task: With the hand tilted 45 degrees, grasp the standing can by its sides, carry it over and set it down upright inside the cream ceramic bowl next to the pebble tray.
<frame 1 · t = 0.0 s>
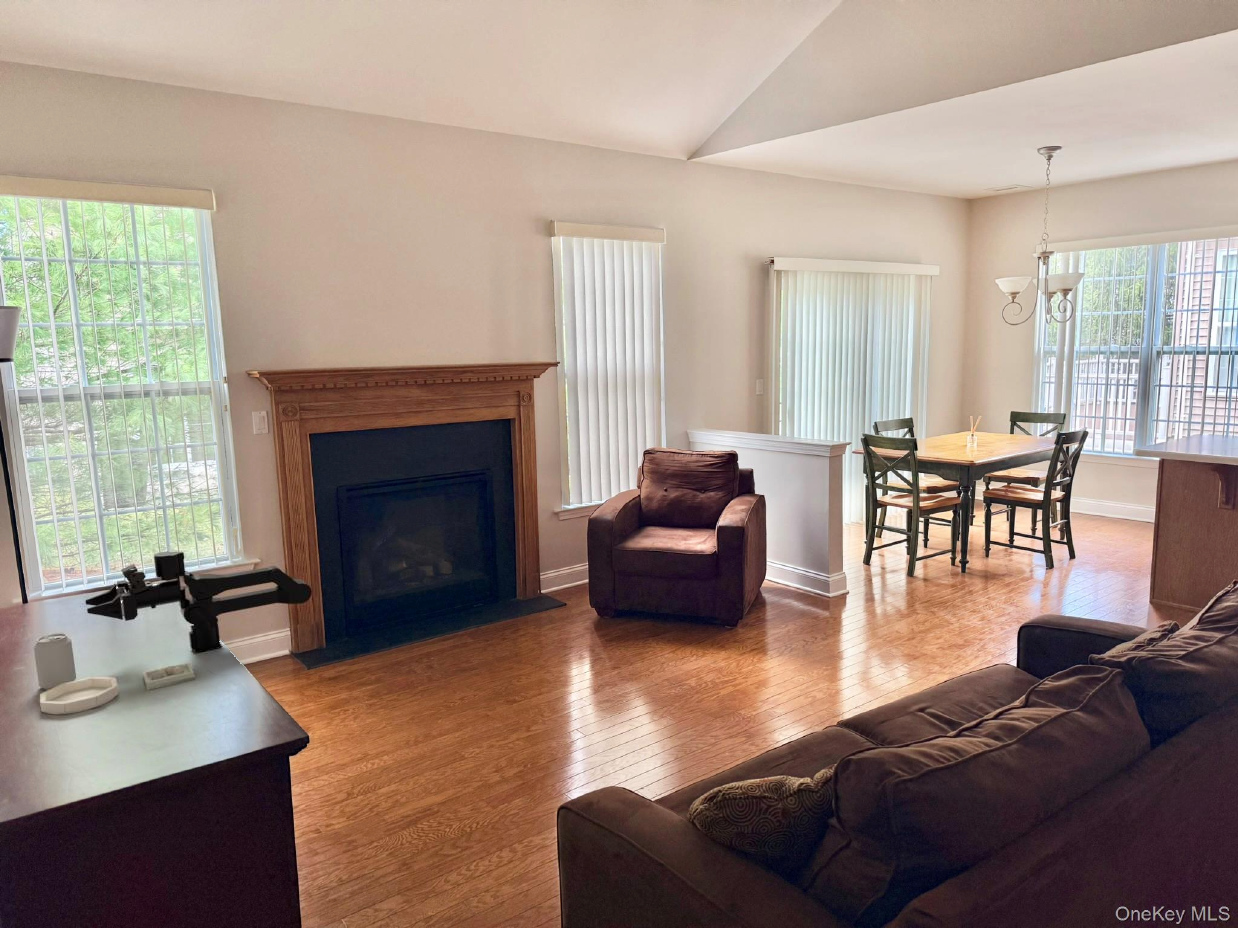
hand: (86, 606, 206), 17 cm above the table, tool horizontal, fingers open, 9 cm apart
bowl: (80, 700, 190), on the table
can: (58, 685, 200), on the table
pebbles: (167, 672, 200), in the pebble tray, point 1 cm above the table
pebble tray: (169, 679, 201), on the table
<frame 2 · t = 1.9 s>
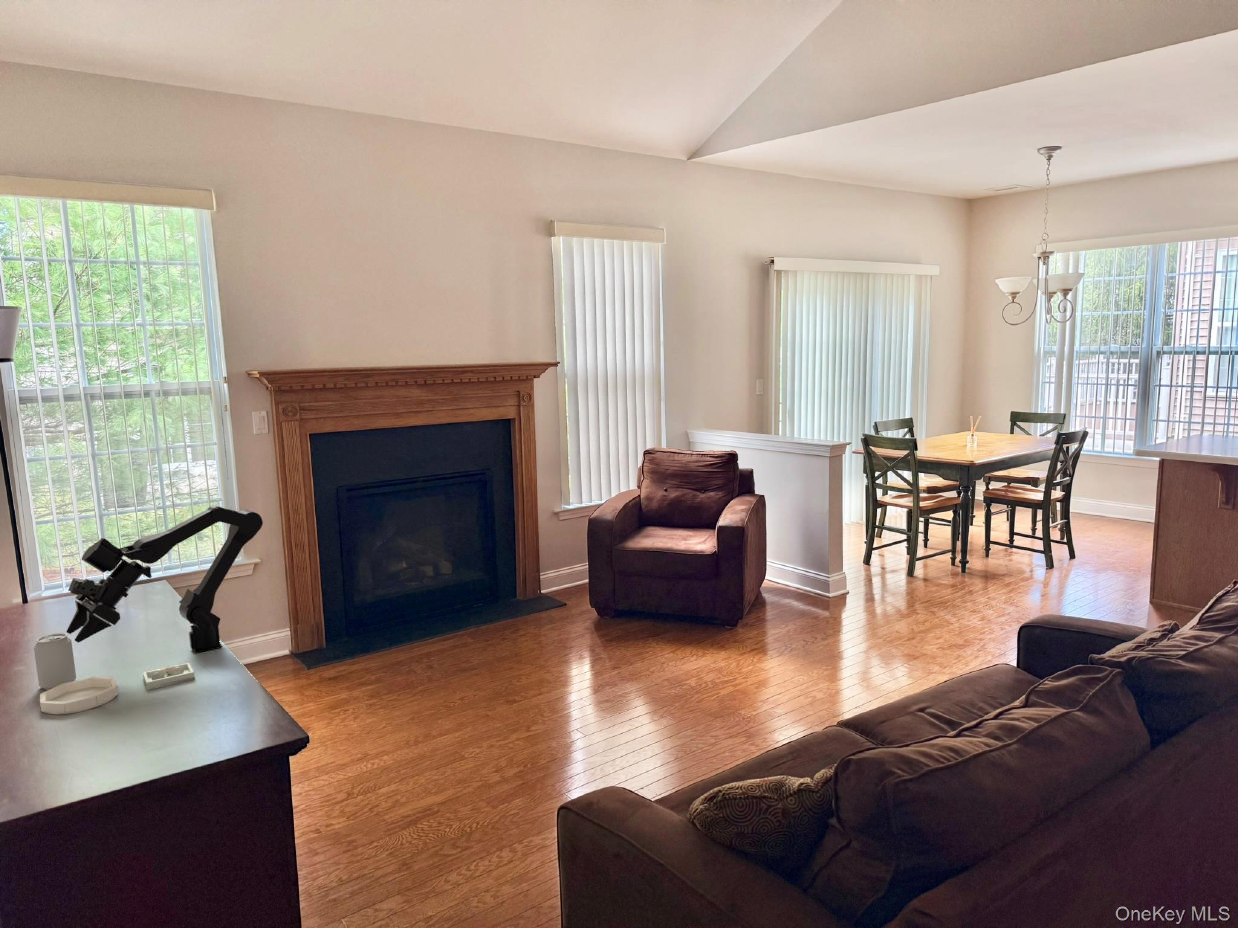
hand: (72, 637, 201), 11 cm above the table, tool tilted 45°, fingers open, 9 cm apart
nothing on the table moved.
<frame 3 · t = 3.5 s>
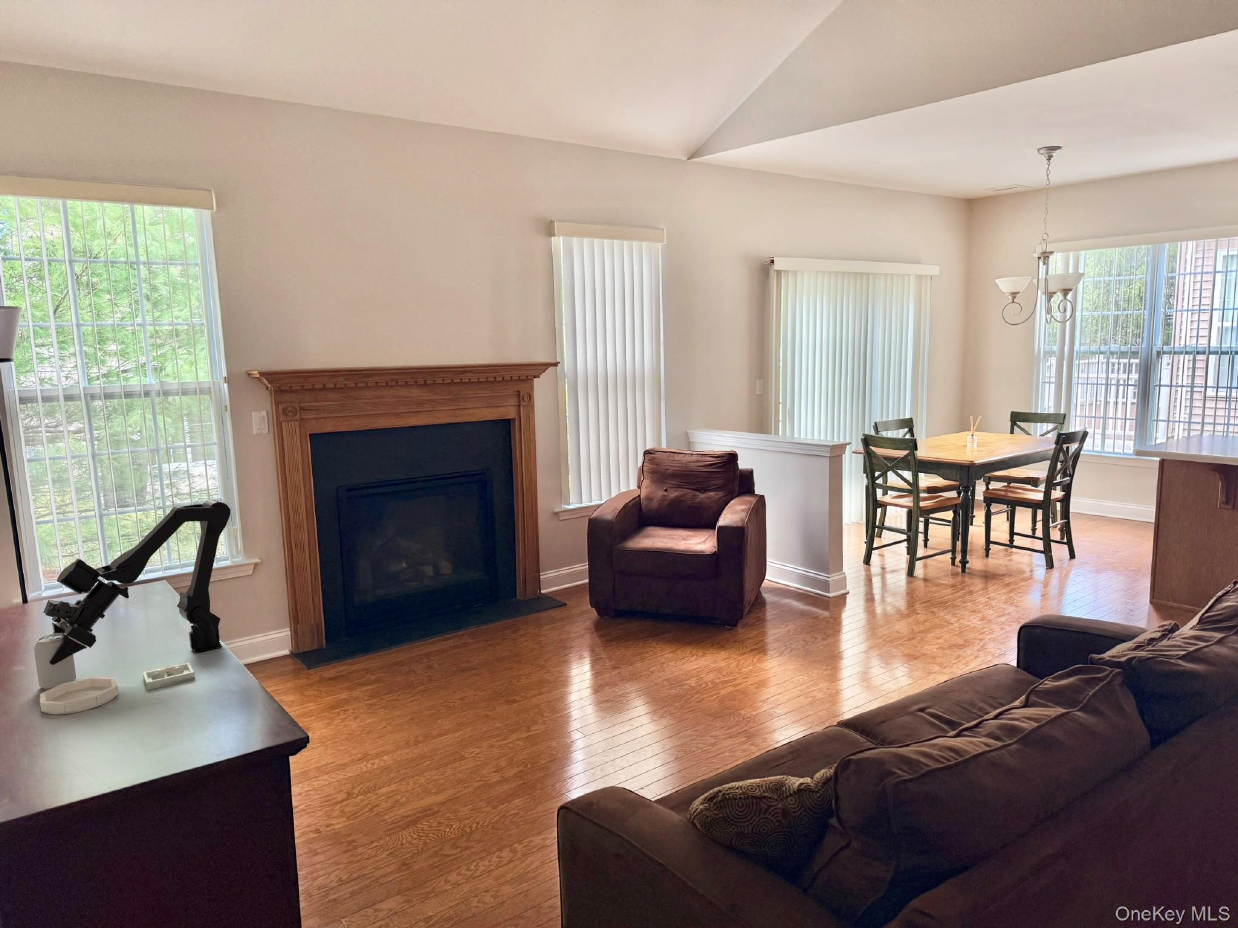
hand: (47, 659, 198), 7 cm above the table, tool tilted 45°, fingers closed on can, 7 cm apart
can: (58, 685, 200), on the table, touching gripper
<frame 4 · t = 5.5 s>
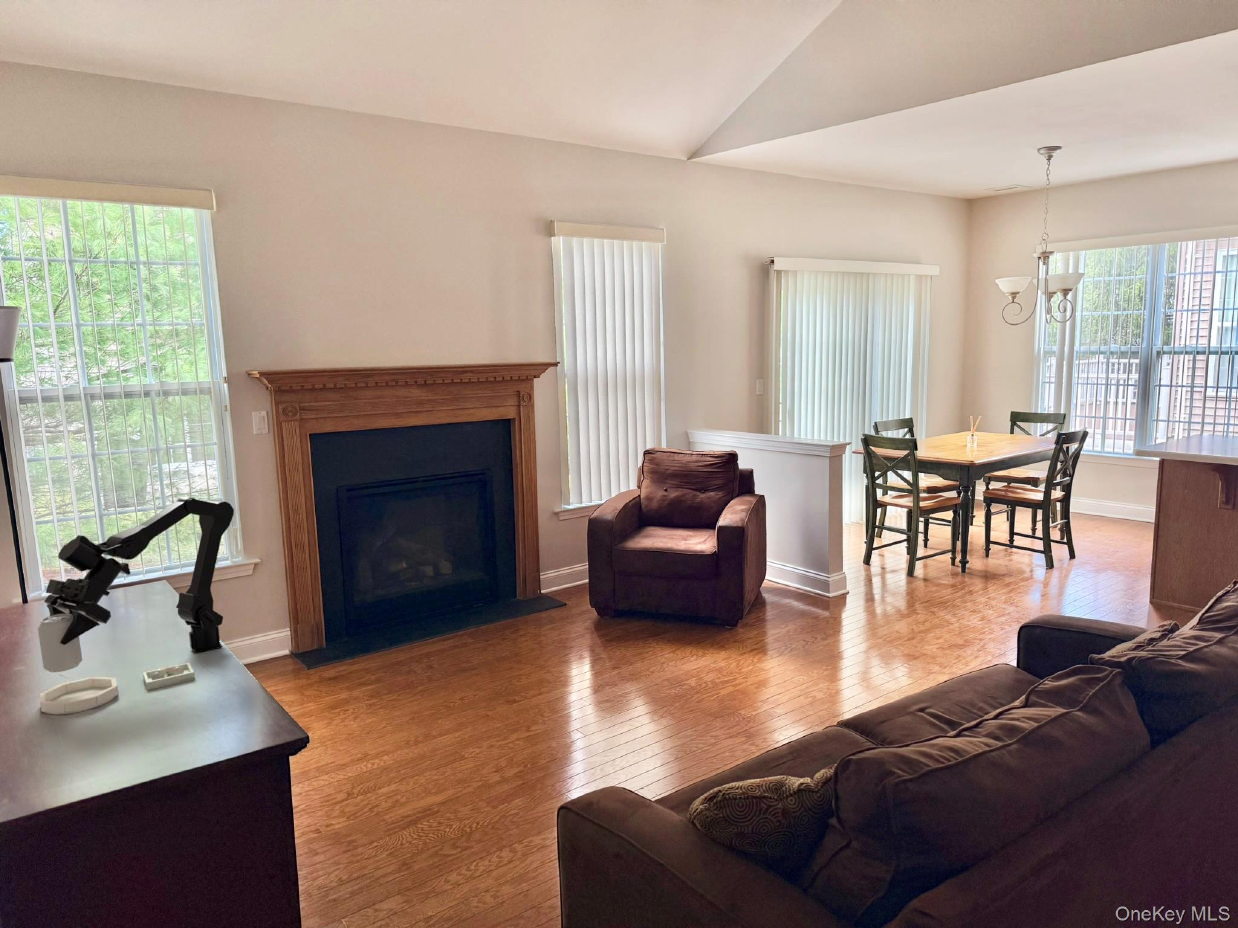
hand: (53, 641, 190), 13 cm above the table, tool tilted 45°, fingers closed on can, 7 cm apart
can: (63, 668, 193), point 7 cm above the table, touching gripper
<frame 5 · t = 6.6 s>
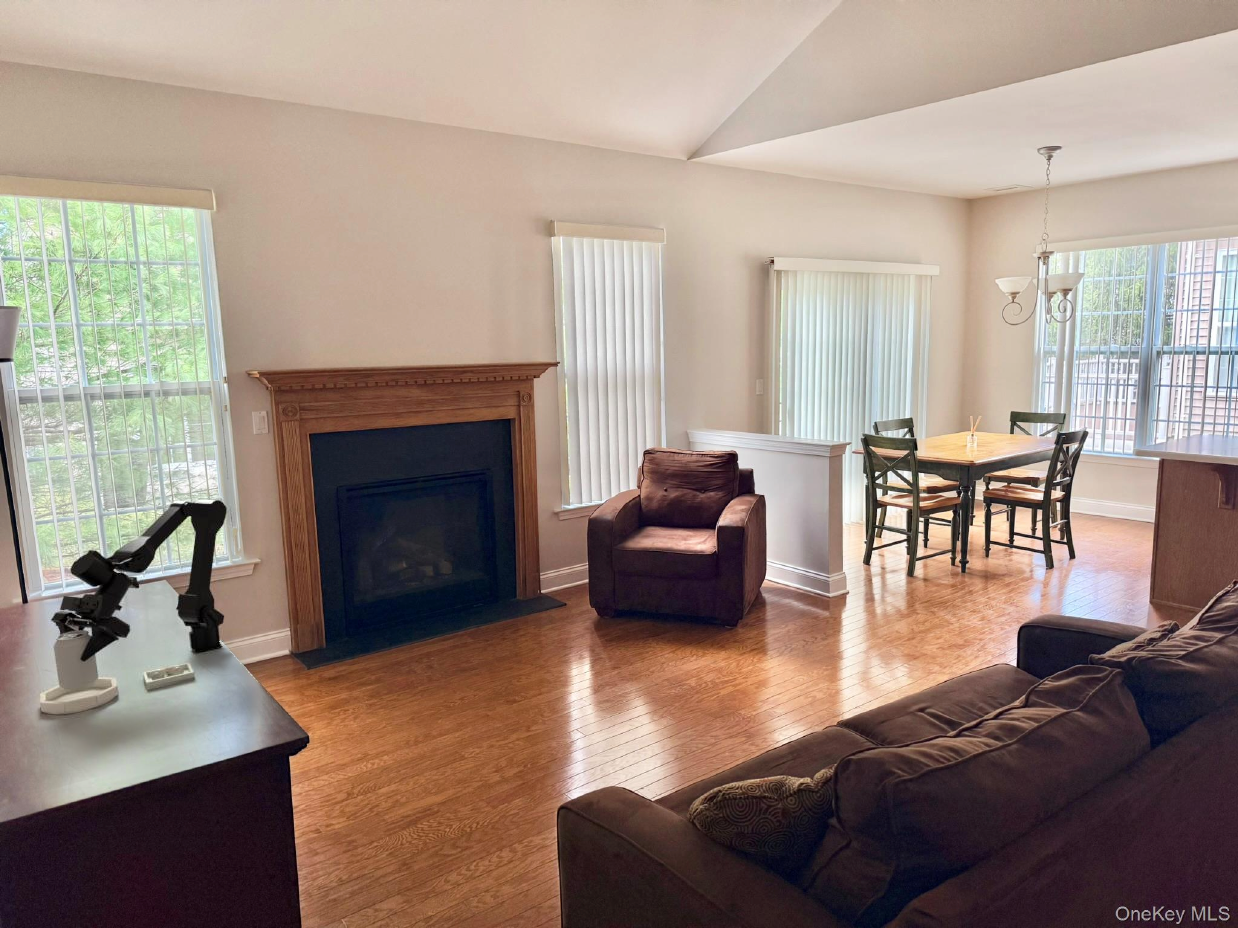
hand: (69, 658, 187), 10 cm above the table, tool tilted 45°, fingers closed on can, 7 cm apart
can: (79, 685, 190), point 3 cm above the table, touching gripper
when the fingers open (9 cm above the table, at t = 7.5 s): can drops 1 cm, resting on bowl.
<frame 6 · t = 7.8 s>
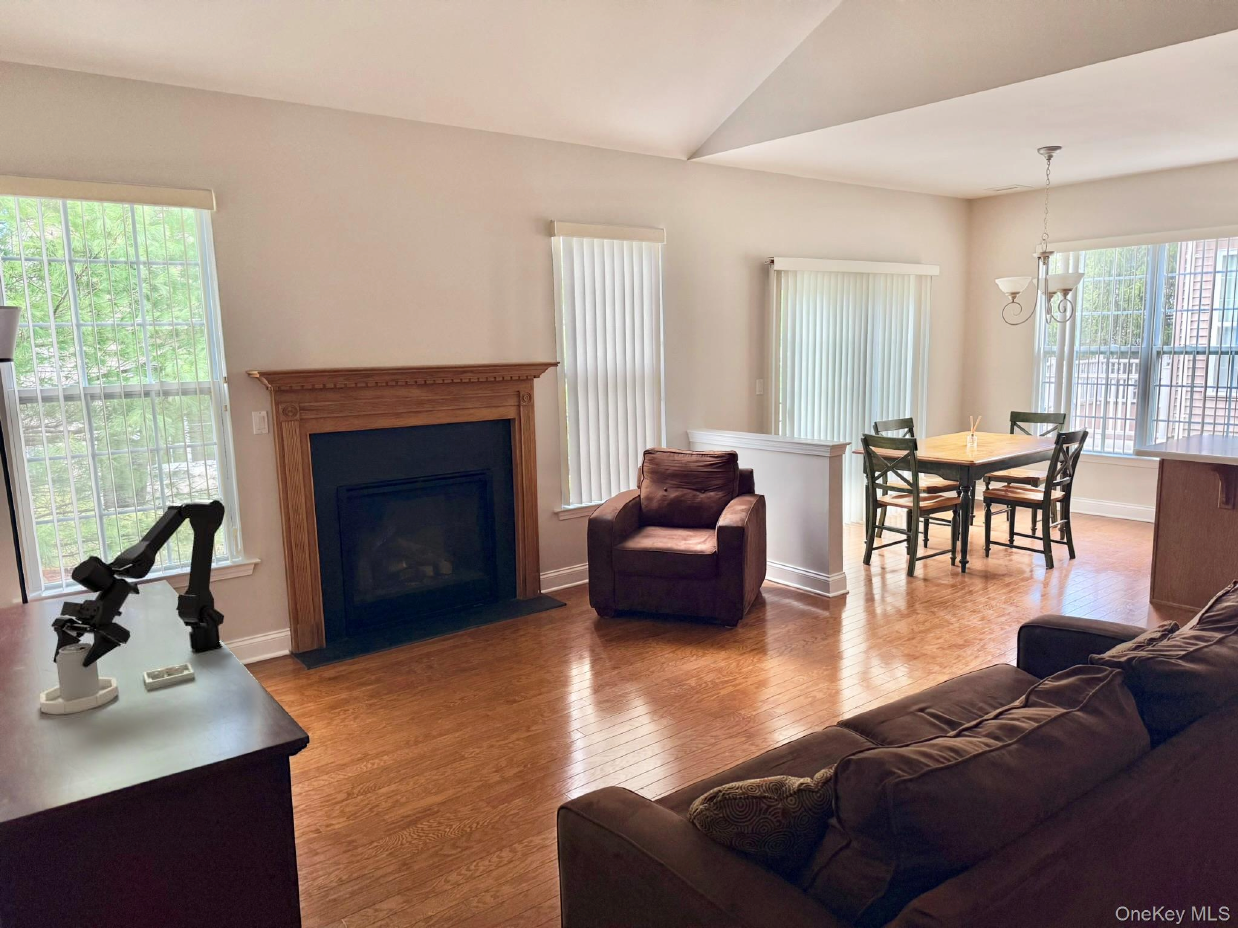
hand: (69, 664, 187), 9 cm above the table, tool tilted 45°, fingers open, 9 cm apart
can: (81, 698, 190), resting on bowl
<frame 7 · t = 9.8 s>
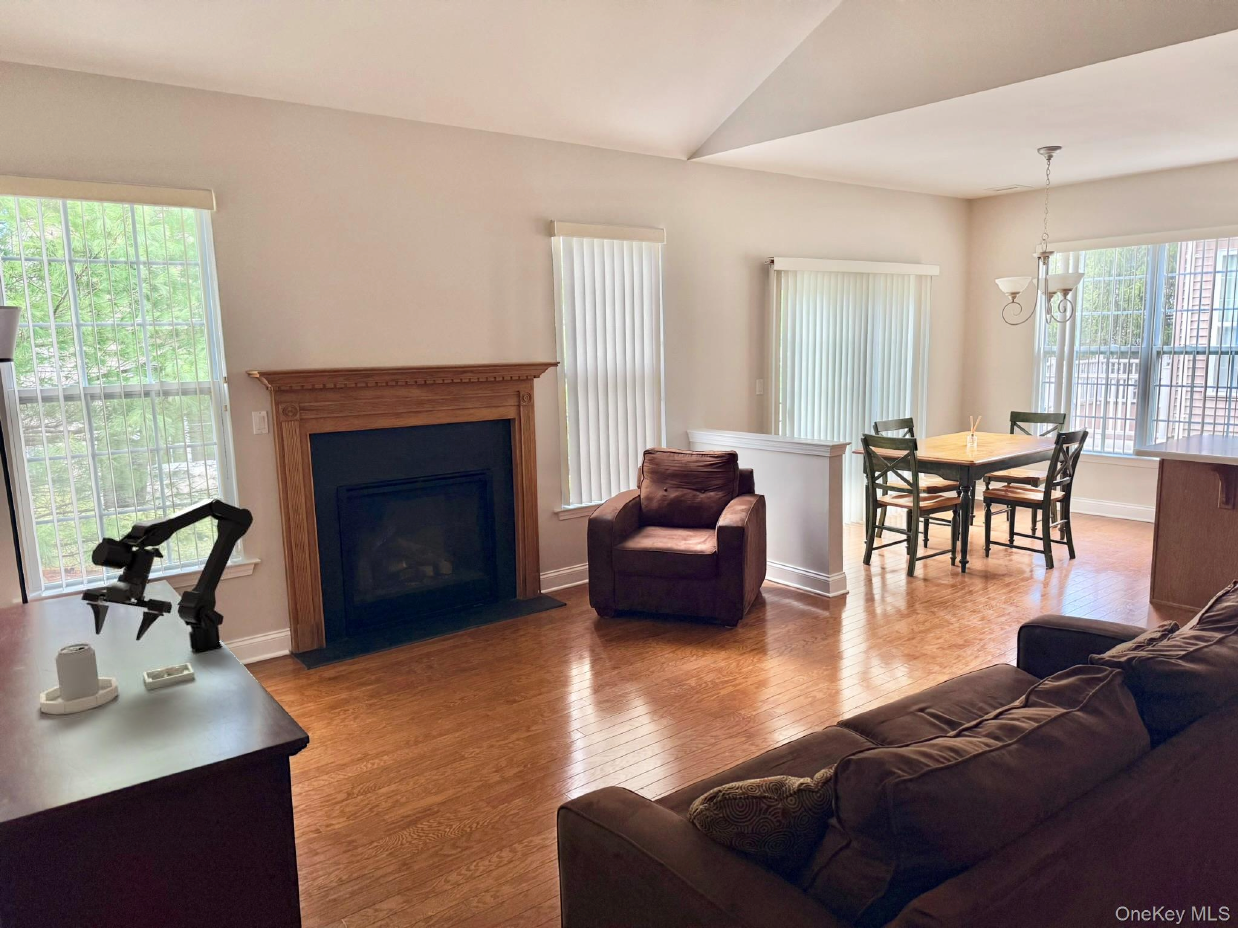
hand: (117, 637, 201), 10 cm above the table, tool tilted 25°, fingers open, 9 cm apart
nothing on the table moved.
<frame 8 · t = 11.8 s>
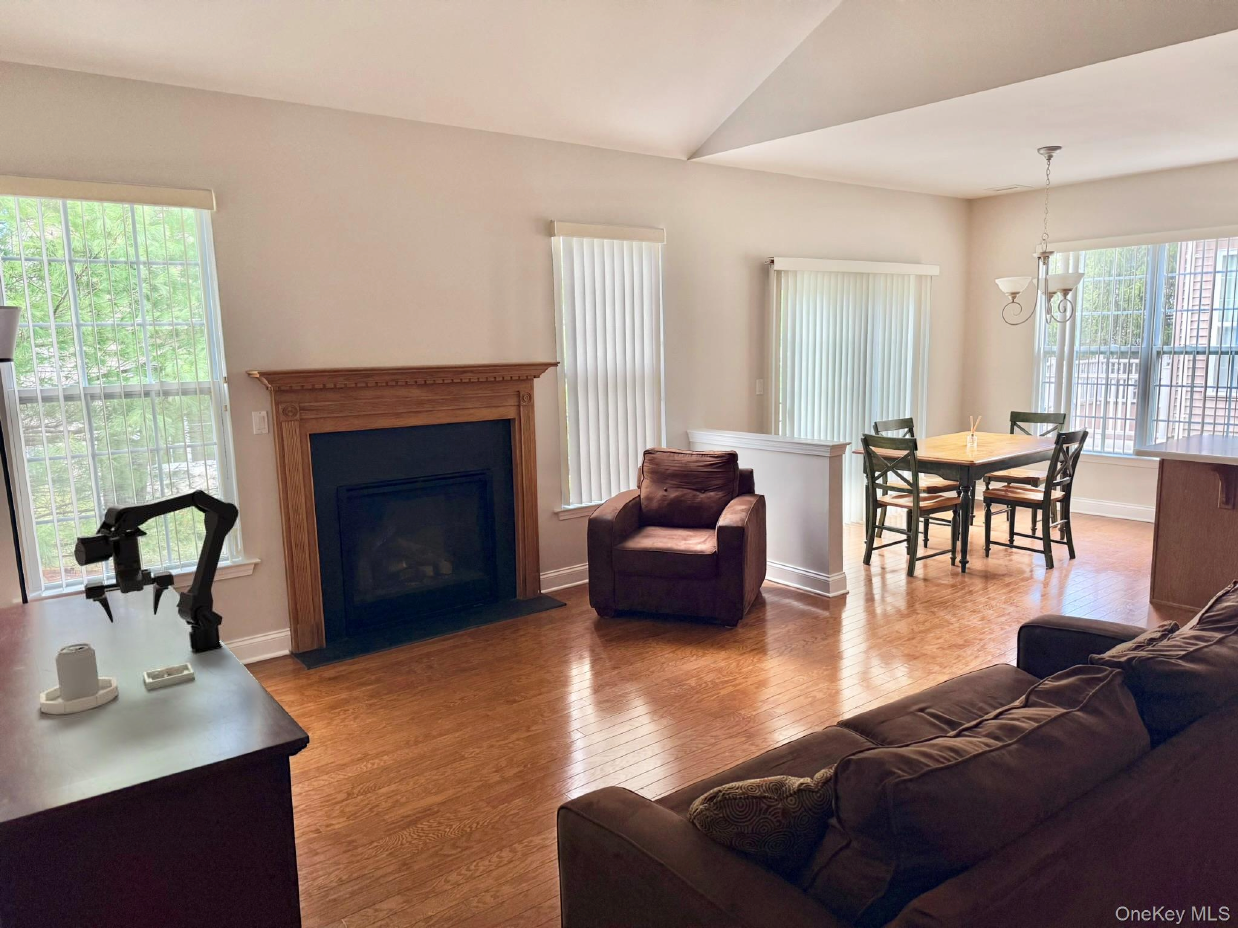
hand: (133, 618, 207), 13 cm above the table, tool pointing down, fingers open, 9 cm apart
nothing on the table moved.
at the end: can 0.2 cm from the bowl (horizontally); can tilted 0°; the gripper is holding nothing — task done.
